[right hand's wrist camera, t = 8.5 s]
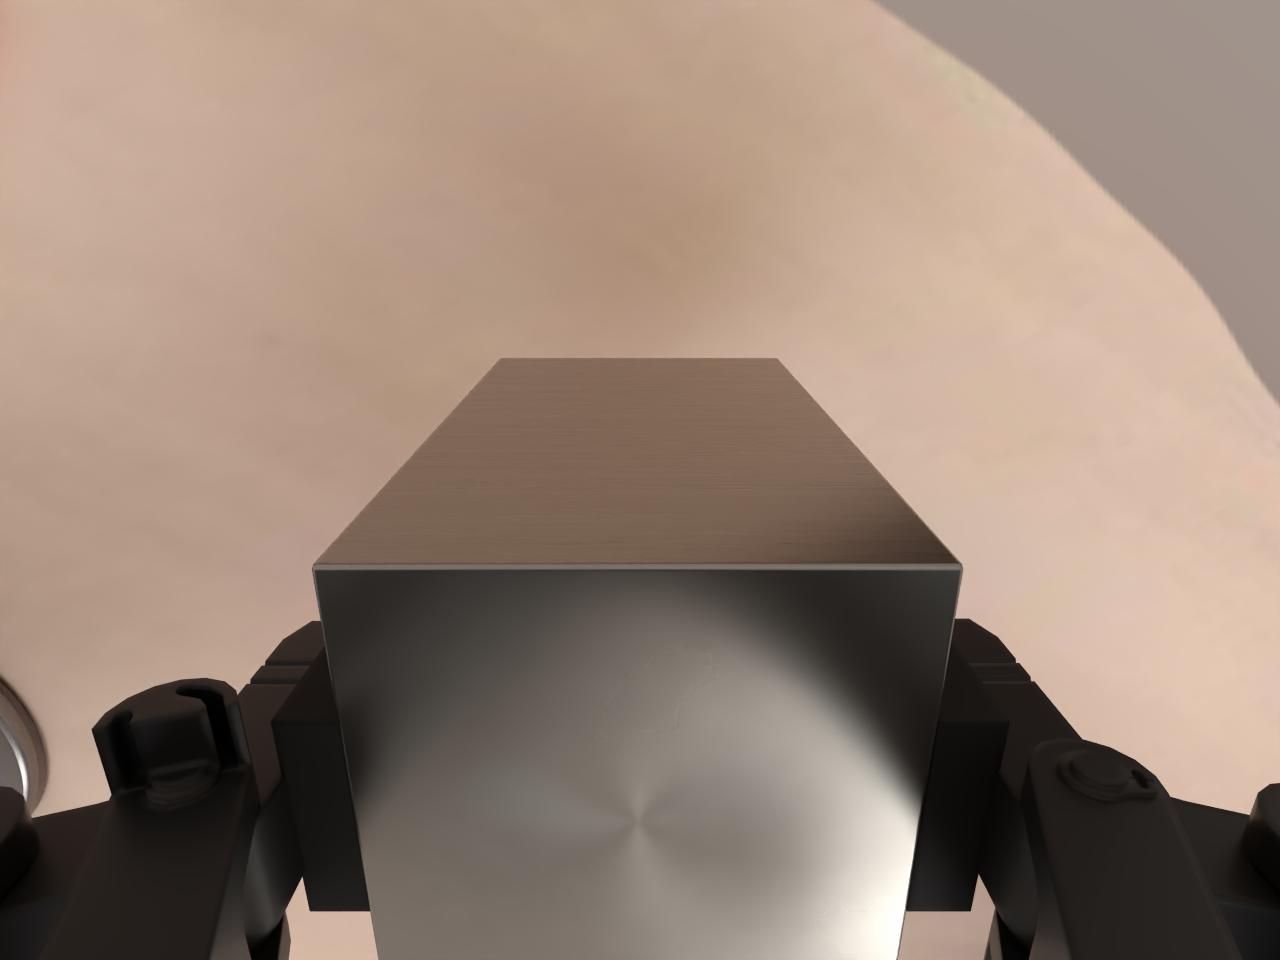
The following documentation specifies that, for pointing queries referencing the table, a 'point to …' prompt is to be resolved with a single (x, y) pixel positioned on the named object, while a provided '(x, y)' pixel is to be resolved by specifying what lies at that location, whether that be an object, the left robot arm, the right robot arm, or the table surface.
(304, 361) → the table surface
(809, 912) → the block
